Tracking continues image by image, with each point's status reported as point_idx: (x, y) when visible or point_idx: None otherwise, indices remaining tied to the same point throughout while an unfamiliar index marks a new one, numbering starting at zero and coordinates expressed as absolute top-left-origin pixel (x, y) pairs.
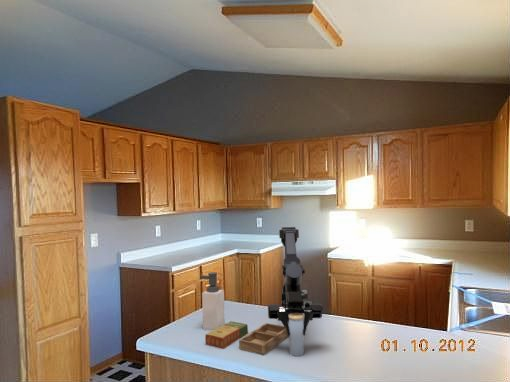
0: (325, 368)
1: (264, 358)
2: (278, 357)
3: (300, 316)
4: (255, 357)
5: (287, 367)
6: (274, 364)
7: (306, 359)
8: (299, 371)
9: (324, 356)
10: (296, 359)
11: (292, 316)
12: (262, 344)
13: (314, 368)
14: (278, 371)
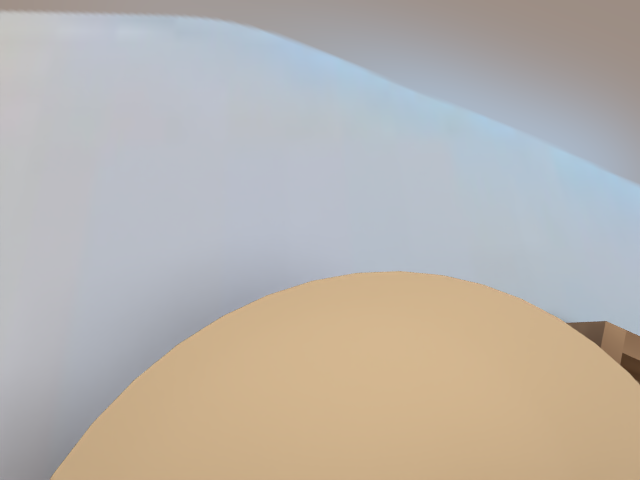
0: (54, 131)
1: (526, 266)
2: None
3: (154, 474)
4: (591, 278)
5: (345, 139)
6: (439, 178)
7: (199, 274)
8: (259, 88)
9: (18, 351)
10: (284, 268)
11: (549, 422)
12: (625, 351)
13: (144, 130)
14: (398, 87)
